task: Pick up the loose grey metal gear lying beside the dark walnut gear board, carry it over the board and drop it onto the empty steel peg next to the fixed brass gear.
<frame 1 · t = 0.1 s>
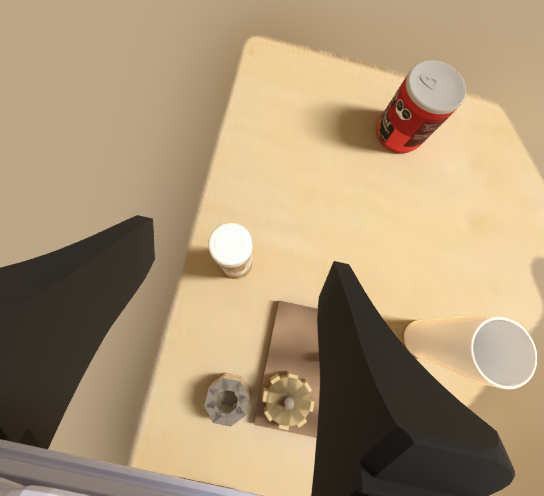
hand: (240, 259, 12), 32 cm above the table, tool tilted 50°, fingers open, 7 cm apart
loose gear: (229, 394, 40), on the table
canned food: (397, 134, 50), on the table
gear board: (309, 367, 42), on the table
drinking glass: (419, 338, 44), on the table
sprinkles bottle: (237, 263, 44), on the table
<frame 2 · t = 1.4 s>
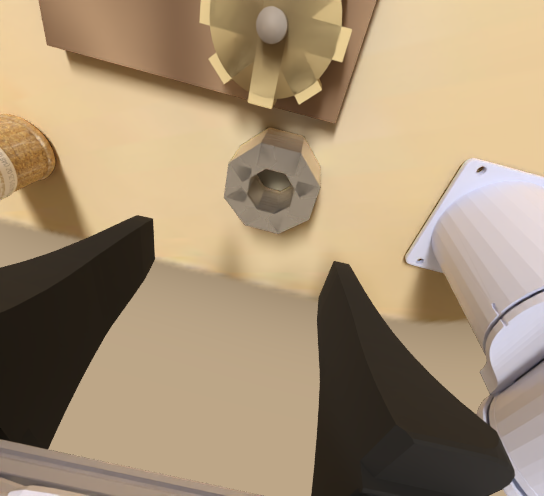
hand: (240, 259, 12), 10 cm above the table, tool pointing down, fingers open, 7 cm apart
loose gear: (277, 171, 20), on the table
sprinkles bottle: (27, 145, 21), on the table
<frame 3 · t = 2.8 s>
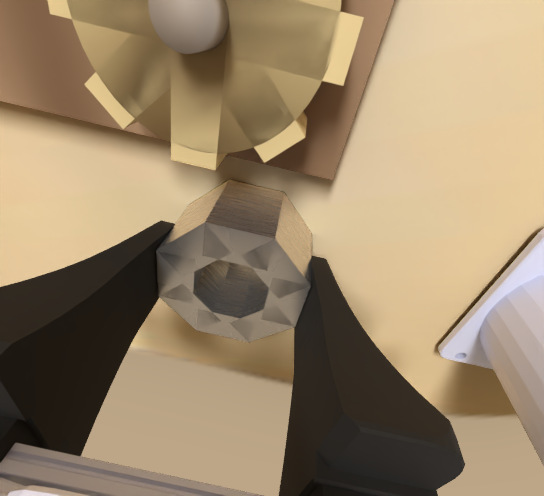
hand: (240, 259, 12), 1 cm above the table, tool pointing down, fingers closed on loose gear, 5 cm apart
loose gear: (247, 240, 13), on the table, touching gripper
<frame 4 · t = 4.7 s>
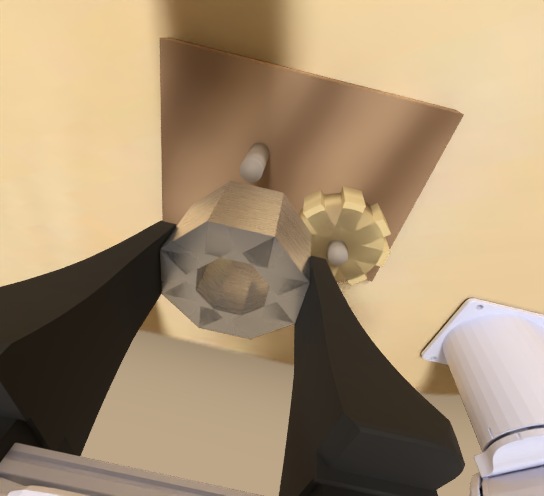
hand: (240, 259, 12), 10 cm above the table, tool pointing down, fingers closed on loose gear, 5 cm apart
loose gear: (247, 239, 13), point 8 cm above the table, touching gripper
gear board: (288, 176, 20), on the table
when the fingers open (3 cm above the table, at t = 6.9 s): loose gear stays where it is, resting on gear board.
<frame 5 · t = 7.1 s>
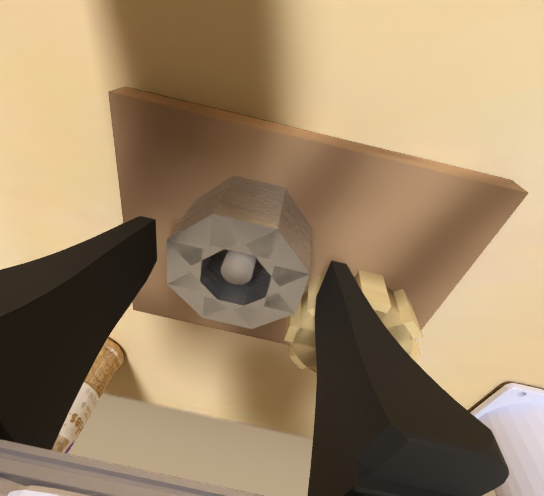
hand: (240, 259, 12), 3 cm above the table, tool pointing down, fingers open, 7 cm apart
loose gear: (249, 233, 14), point 1 cm above the table, touching gear board
gear board: (287, 250, 16), on the table
sprinkles bottle: (98, 344, 23), on the table
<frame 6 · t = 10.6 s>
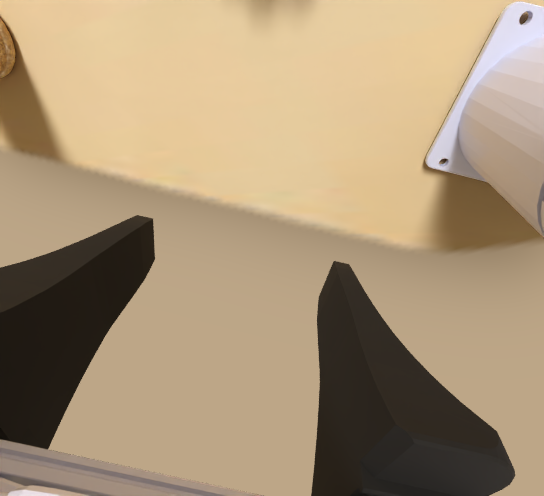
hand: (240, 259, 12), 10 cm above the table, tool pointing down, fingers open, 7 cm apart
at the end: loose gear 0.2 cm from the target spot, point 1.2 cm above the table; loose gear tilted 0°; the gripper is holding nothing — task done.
